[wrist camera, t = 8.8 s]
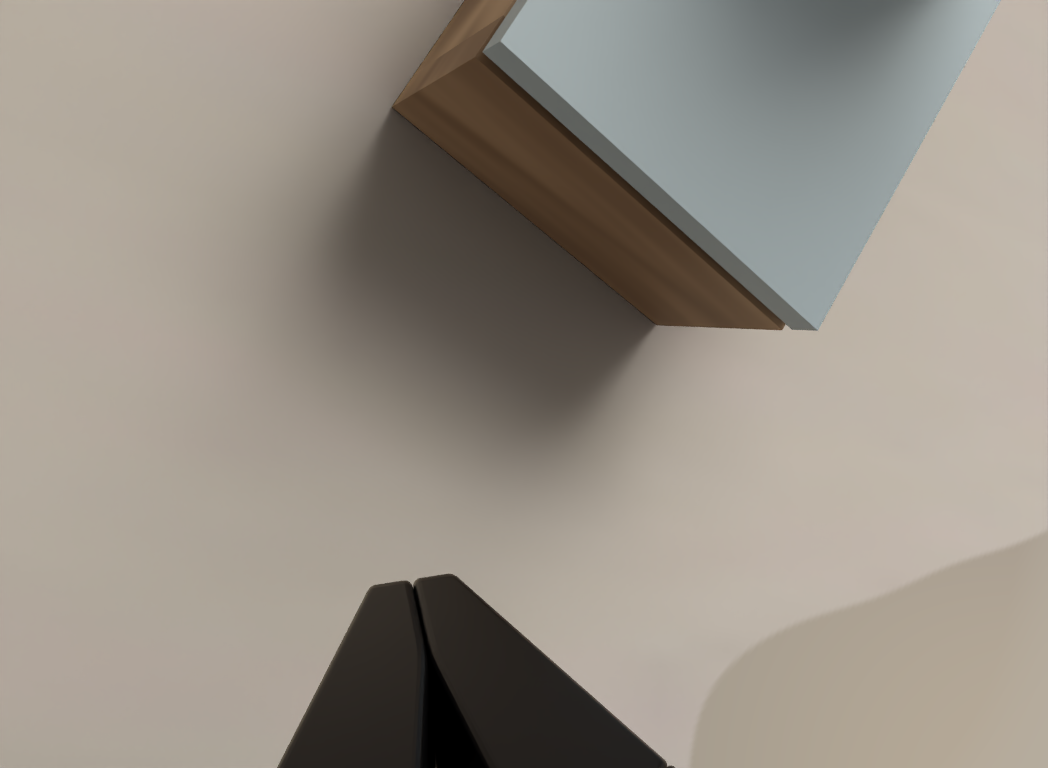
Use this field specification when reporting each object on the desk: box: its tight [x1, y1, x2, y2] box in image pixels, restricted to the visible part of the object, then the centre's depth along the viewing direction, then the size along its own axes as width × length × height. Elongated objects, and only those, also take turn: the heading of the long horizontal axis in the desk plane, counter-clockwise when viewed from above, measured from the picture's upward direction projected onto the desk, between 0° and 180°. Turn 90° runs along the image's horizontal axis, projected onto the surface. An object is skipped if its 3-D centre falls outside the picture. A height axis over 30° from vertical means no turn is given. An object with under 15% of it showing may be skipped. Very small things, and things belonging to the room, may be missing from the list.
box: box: [392, 0, 785, 330], centre depth 23 cm, size 11×9×5 cm
